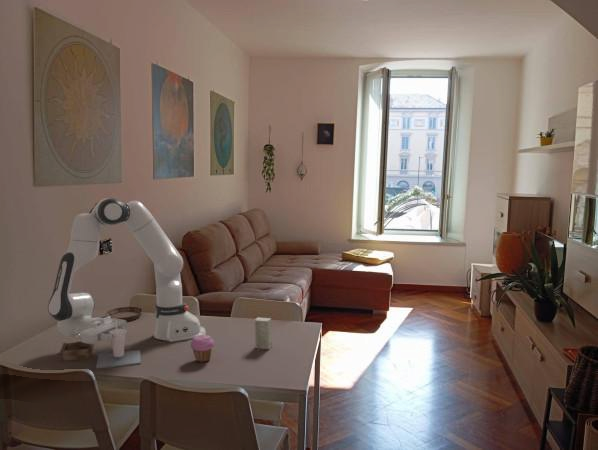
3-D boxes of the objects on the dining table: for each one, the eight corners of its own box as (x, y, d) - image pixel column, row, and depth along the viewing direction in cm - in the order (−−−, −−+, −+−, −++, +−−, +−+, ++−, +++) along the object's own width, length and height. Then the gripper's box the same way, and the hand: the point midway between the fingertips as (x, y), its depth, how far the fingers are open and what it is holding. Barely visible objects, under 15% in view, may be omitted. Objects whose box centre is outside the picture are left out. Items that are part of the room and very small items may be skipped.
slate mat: (140, 351, 214) (140, 350, 214) (140, 364, 200) (140, 362, 200) (98, 355, 209) (98, 354, 209) (96, 368, 196) (95, 367, 196)
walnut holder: (94, 348, 217) (93, 339, 217) (91, 357, 207) (91, 349, 206) (64, 350, 214) (63, 342, 214) (60, 361, 203) (59, 352, 203)
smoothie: (115, 351, 208) (114, 317, 206) (130, 352, 207) (129, 318, 205) (106, 357, 202) (105, 322, 200) (122, 358, 201) (120, 323, 199)
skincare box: (272, 346, 220) (272, 318, 218) (268, 349, 216) (268, 321, 214) (258, 344, 222) (257, 316, 220) (254, 348, 217) (254, 319, 216)
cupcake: (218, 360, 204) (217, 335, 203) (199, 366, 198) (198, 340, 197) (205, 354, 210) (205, 330, 209) (186, 359, 205) (186, 335, 203)
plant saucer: (122, 325, 249) (122, 318, 248) (97, 319, 258) (97, 313, 258) (150, 315, 264) (150, 310, 263) (126, 310, 273) (126, 304, 273)
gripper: (71, 329, 199) (99, 334, 193) (110, 314, 217) (137, 318, 212) (72, 345, 200) (100, 350, 194) (111, 329, 218) (137, 334, 213)
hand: (119, 333), depth 203 cm, fingers closed on smoothie, 6 cm apart
